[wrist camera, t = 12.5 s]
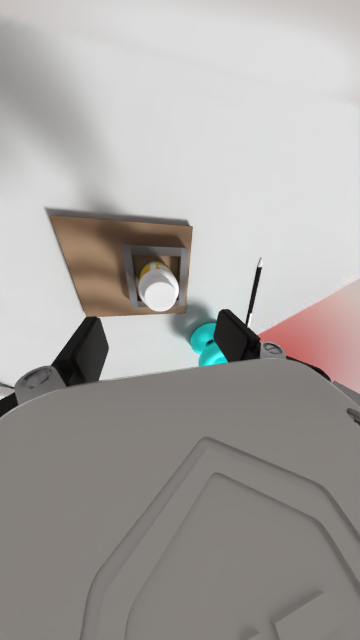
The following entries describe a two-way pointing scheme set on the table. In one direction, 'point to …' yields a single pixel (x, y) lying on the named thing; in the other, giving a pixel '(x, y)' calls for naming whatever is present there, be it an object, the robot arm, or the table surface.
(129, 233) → the board
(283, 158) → the table surface
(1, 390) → the caliper
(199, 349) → the donuts
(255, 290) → the pen
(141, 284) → the supplement bottle
